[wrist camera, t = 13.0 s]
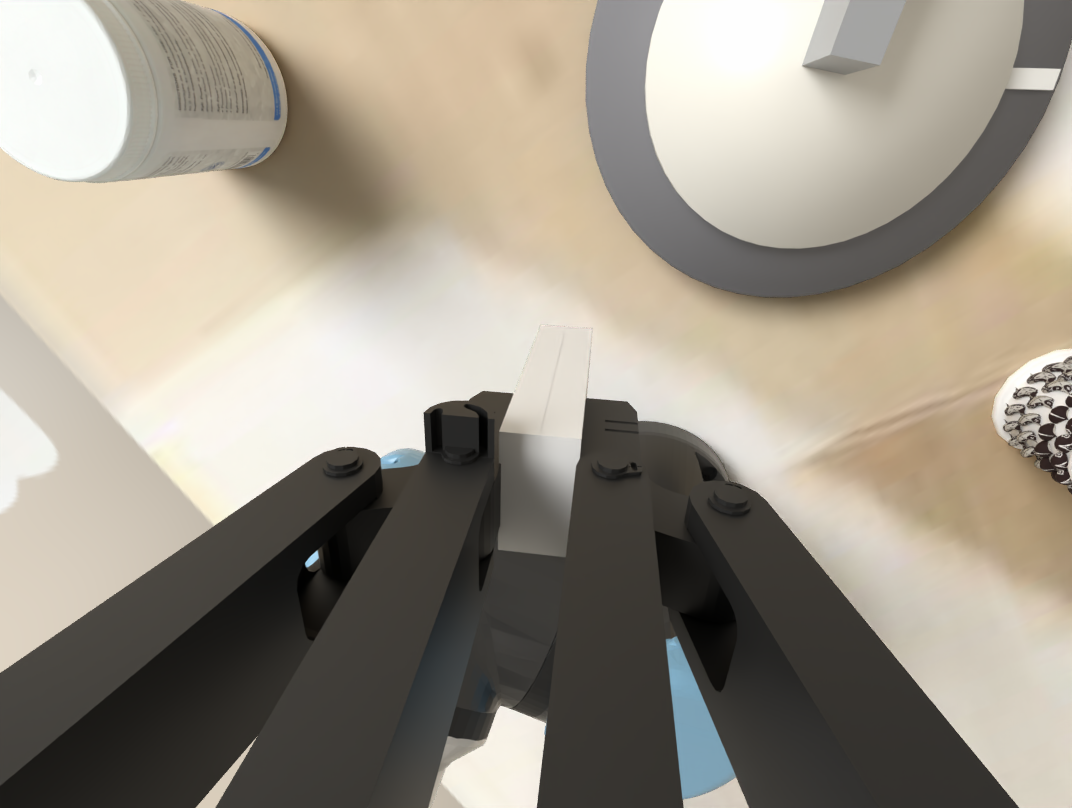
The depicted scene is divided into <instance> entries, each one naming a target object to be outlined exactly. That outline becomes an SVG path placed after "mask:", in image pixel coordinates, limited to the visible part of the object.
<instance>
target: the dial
mask: <svg viewBox="0 0 1072 808" xmlns="http://www.w3.org/2000/svg"><path fill="white" fill-rule="evenodd" d="M1023 11H1024V0H664V1H663V3H662V5H661V8H660V11H659V13H658V17H657V20H656V23H655V27H654V30H653V33H652V37H651V41H650V46H649V52H648V57H647V63H646V75H645V107H646V116H647V122H648V128H649V134H650V137H651V140H652V144H653V147H654V150H655V154H656V156H657V158H658V160H659V163H660V165H661V167H662V169H663V171H664V173H665V175H666V177H667V178H668V180H669V181H670V183H671V184H672V186H673V188H674V189H675V191H676V192H677V193H678V194H679V195H680V196H681V198H682V199H683V200H684V201H685V202H686V203H687V205H688V206H690V207H691V208H692V209H693V210H694V211H695V212H696V213H698V214H699V215H700V216H701V217H702V218H703V219H704V220H706V221H707V222H709V223H710V224H712V225H713V226H715V227H716V228H718V229H720V230H721V231H723V232H725V233H727V234H729V235H731V236H734V237H736V238H738V239H740V240H744V241H747V242H750V243H754V244H757V245H762V246H768V247H775V248H797V249H801V248H811V247H820V246H825V245H830V244H834V243H838V242H843V241H846V240H849V239H852V238H854V237H857V236H860V235H863V234H866V233H868V232H870V231H872V230H874V229H876V228H878V227H880V226H882V225H884V224H886V223H888V222H890V221H892V220H893V219H895V218H896V217H898V216H900V215H901V214H903V213H904V212H906V211H908V210H909V209H911V208H912V207H913V206H914V205H916V204H917V203H918V202H920V201H921V200H922V199H924V198H925V197H926V196H927V195H929V194H930V193H931V192H932V191H933V190H934V189H935V188H936V187H937V186H938V185H939V184H941V183H942V182H943V181H944V180H945V179H946V178H947V177H948V176H949V175H950V174H951V173H952V171H953V170H954V169H955V168H956V167H957V166H958V165H959V163H960V162H961V161H962V160H963V159H964V158H965V156H966V155H967V154H968V153H969V151H970V150H971V148H972V147H973V146H974V144H975V143H976V141H977V140H978V138H979V137H980V136H981V134H982V133H983V131H984V130H985V128H986V126H987V124H988V122H989V121H990V119H991V117H992V115H993V114H994V112H995V110H996V108H997V106H998V104H999V102H1000V99H1001V97H1002V95H1003V93H1004V90H1005V88H1006V86H1007V83H1008V81H1009V78H1010V75H1011V72H1012V68H1013V65H1014V62H1015V59H1016V56H1017V52H1018V47H1019V41H1020V36H1021V31H1022V25H1023Z"/></svg>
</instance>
